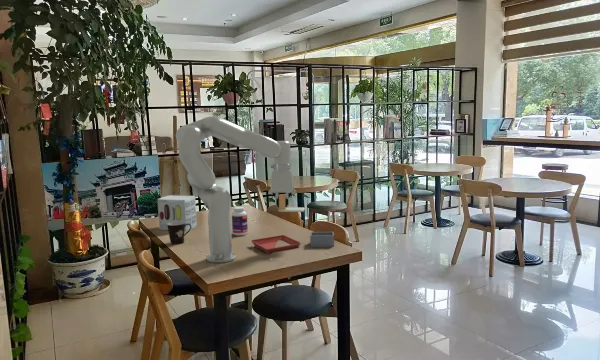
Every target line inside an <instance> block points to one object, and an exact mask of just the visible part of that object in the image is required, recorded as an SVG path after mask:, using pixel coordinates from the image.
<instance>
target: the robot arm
mask: <svg viewBox="0 0 600 360" xmlns="http://www.w3.org/2000/svg"><path fill="white" fill-rule="evenodd" d="M210 137H213V138H216V139H219V140H220V141H221V140H222V141H224V142H226V143H229V144H231V145H233V146H236V147H239V148H242V149H247V150H251V151H255V152H256V154H257V155H258V156H259V157H262V158H270V159H273V164H271V165H270V168H271V169H273V170H272V171H271V179H270V188H269V190H268V193H269V195H271V196H273V197H274V199H275V201H276V203H275V204H276V206H277V208H279V195H280V193H285V194H286V199H285V207H288V206H289V199H290V197H291V196H292V195H295V194H297V190H296V189H295V186H294V176H293V170H291V143H290V141H287V140H274V139H272V138H270V137H268V136H265V135H262V134H260V133H257V132H256V131H252V130H250V129H247V128H245V127H242V126H240V125H237V124H235V123H234V122H232V121H229V120H227V119H225V118H222V117H220V116H216V115H215V116H206V117H203V118H202V119H198V120H196V121H193V122H190V123H188V124H187V123H186V124H183V126H180V127H178V129H177V130H176V133H175V138H176V141H177V142H178V144H179V145H178V157H179V159H180V162H181V163H182V165H183V167H184V168H185V170H186V172H187V177H186V178H187V181H188V183H189V185H190V186H191V188H192V189H193V191H194V193H195V194H196V195H197V196H198V198H199V199H200V200H201V201H202V203H203V204H204V205H206V206H208V214H207V222H208V238H209V239H208V240H209V241H208V242H209V255H207V256H206V260H207V262H210V263H227V262H231V261H234V260H235V259H236V258H237V255H236V253H234V252H233V243H232V241H233V240H232V239H233V238H232V219H231V210H232V209H231V208H232V197H231V194H230V192H229V191H228V190H227V189H225V188H224V187H221V186H218V185H217V184H216V176H215V175H216V174H215V173H214V171H213V170H212V169H211V167H210V166H209V164H208V163H207V161H206V160H205V159H204V157H203V155H202V154H201V153H202V152H201V150H200V146H201V143H202V141H203V140H206V139H207V138H210Z"/></svg>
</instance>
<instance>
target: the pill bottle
mask: <svg viewBox="0 0 600 360" xmlns="http://www.w3.org/2000/svg"><path fill="white" fill-rule="evenodd" d="M231 231H232V235H233V236H245V235H248V233H249V230H248V213H247V212H246V211H245V207H244V206H235V207H233V212H232V213H231Z"/></svg>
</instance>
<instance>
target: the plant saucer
mask: <svg viewBox="0 0 600 360" xmlns="http://www.w3.org/2000/svg"><path fill="white" fill-rule="evenodd" d="M278 241H279V242H280V241H284V242H286V243H289V244H287V245H283V246H277V247H276V245H277V244H278V243H277V242H278ZM250 242H251V243H252V244H253V246H255V247H256V248H258V249H259V250H261V251H263V252H265V253H267V255H268V254H272V253H273V252H279V251H284V250H290V249H294V248H298V247H299V246H300V245H301V244H302V242H300V241H298V240H295V239H293V238H291V237H289V236H286V235H285V234H281V235H275V236H268V237H262V238H258V239H257V238H256V239H251V241H250Z"/></svg>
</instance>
